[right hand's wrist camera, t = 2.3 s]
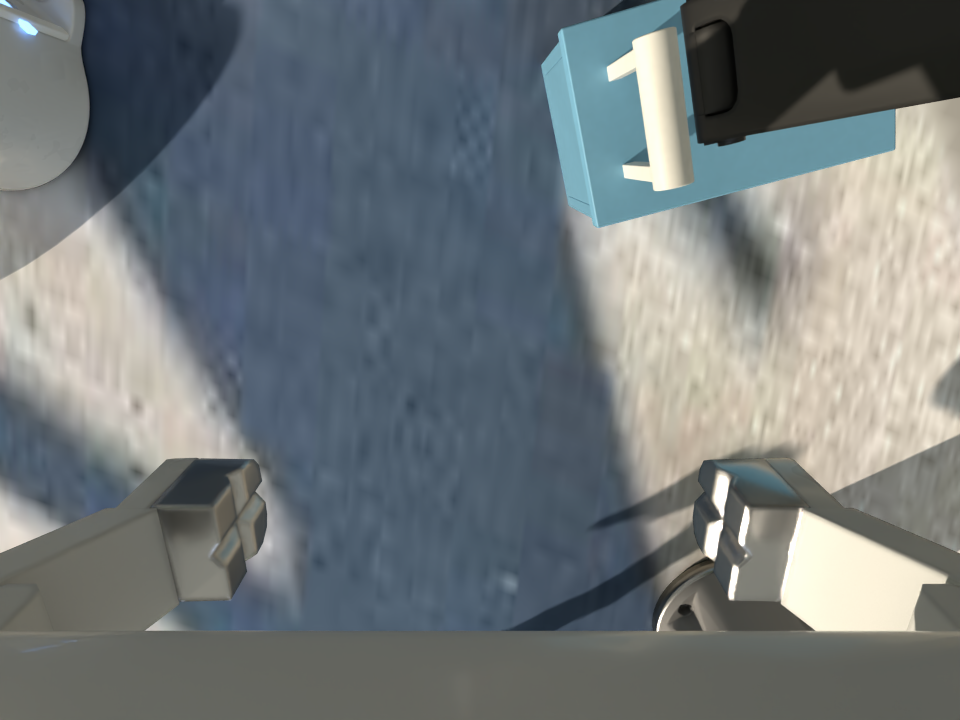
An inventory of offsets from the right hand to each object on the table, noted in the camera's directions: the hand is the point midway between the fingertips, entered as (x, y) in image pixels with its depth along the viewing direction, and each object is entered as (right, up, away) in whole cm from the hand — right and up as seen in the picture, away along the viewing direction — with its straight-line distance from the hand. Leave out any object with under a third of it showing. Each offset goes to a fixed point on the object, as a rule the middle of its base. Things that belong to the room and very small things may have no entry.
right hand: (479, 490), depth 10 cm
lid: (+13, +16, +19) cm, 28 cm away
